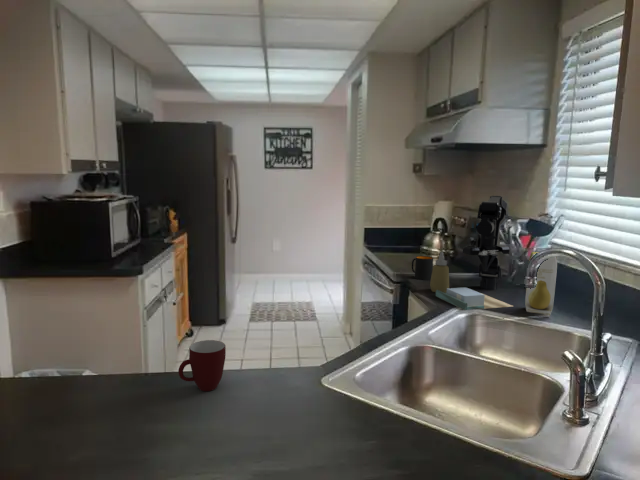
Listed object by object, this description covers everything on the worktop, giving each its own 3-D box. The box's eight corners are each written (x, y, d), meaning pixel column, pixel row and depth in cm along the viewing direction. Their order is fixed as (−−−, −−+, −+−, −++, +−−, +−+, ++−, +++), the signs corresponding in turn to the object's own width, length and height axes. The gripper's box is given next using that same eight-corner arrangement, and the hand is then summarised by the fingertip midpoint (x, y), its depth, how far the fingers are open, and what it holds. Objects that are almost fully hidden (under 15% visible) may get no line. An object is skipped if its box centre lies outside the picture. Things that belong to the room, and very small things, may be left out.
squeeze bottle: (451, 296, 195) (454, 254, 192) (431, 295, 195) (434, 253, 192) (446, 291, 203) (448, 251, 200) (427, 291, 203) (430, 250, 200)
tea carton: (465, 296, 190) (466, 287, 189) (484, 305, 179) (484, 294, 178) (446, 298, 187) (446, 288, 187) (463, 306, 176) (464, 296, 175)
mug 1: (187, 402, 101) (186, 358, 99) (174, 388, 107) (173, 346, 106) (231, 389, 107) (231, 348, 105) (216, 377, 113) (216, 337, 112)
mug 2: (417, 274, 237) (418, 254, 235) (435, 279, 227) (436, 258, 226) (405, 276, 232) (406, 255, 230) (423, 281, 222) (425, 259, 221)
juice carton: (524, 315, 171) (530, 250, 168) (523, 309, 178) (529, 247, 175) (552, 318, 168) (559, 253, 164) (550, 312, 175) (557, 249, 171)
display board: (481, 295, 197) (481, 287, 196) (513, 309, 178) (514, 300, 178) (435, 298, 190) (436, 290, 190) (464, 313, 171) (465, 303, 171)
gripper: (494, 230, 198) (491, 266, 200) (456, 230, 192) (453, 267, 194) (512, 233, 187) (508, 271, 189) (472, 234, 182) (469, 273, 184)
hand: (484, 270), depth 190 cm, fingers closed
